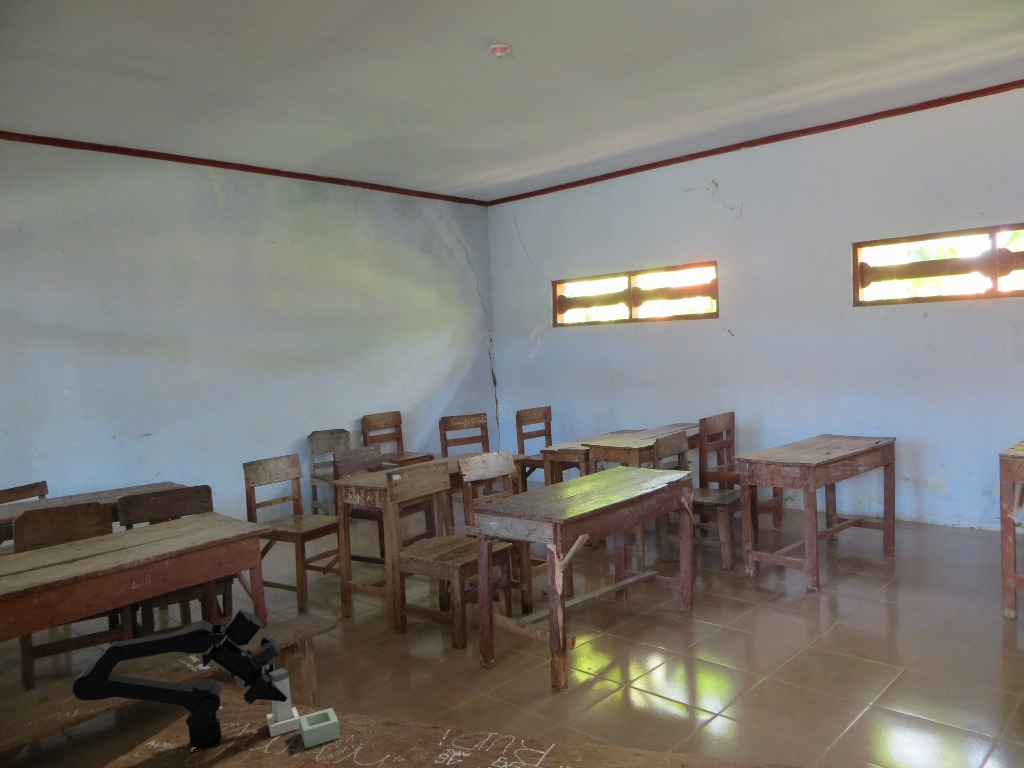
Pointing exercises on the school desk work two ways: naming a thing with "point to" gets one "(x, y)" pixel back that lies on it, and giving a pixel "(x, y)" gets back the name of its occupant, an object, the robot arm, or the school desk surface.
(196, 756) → the school desk surface
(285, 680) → the plug
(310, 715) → the raised socket
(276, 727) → the low collar
